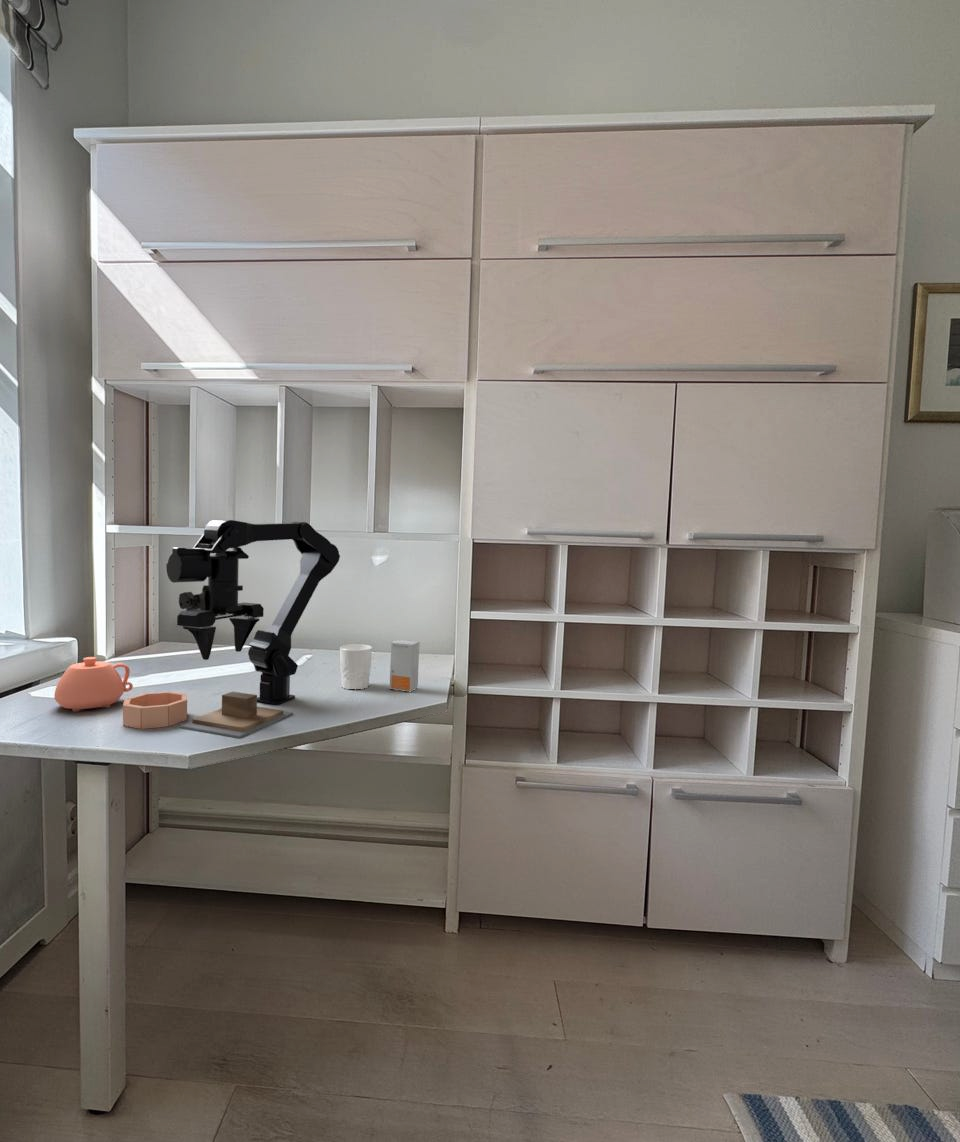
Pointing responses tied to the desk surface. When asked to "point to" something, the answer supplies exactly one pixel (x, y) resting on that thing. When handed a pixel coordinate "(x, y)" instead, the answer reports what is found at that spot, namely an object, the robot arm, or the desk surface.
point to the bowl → (155, 709)
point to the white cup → (355, 666)
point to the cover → (238, 713)
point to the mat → (231, 732)
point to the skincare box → (404, 665)
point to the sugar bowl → (91, 685)
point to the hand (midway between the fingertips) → (222, 655)
